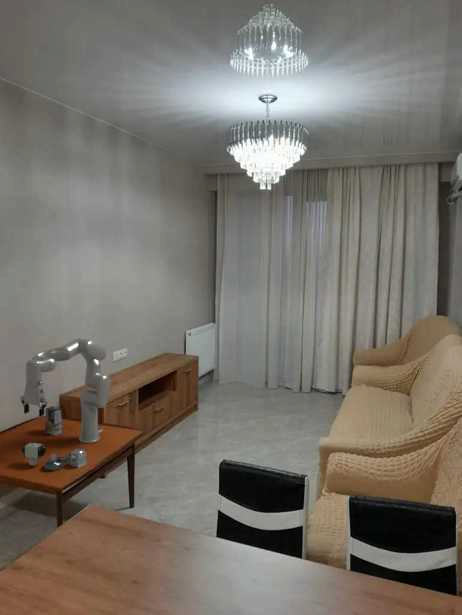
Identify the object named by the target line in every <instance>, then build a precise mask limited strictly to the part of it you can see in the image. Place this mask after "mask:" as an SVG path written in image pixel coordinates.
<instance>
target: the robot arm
mask: <svg viewBox="0 0 462 615" xmlns="http://www.w3.org/2000/svg"><path fill="white" fill-rule="evenodd" d="M107 354H108V353H107V350H106V348H105V347H104V346H102V345H100V344H99V343H98V342H95V341H93V340H91V339H86V338H81V337H80V338H76V339H73V340H71V341H69V342H68V343H65V344H63V345H62V346H59V347H54V348H51V349H46V350H43V351H41V352H39V353H37V354H36V355H34V356H33V357H32V358H31V359H29V360H27V361H26V363H25V364H26V365H25V370H26V371H25V372H26V374H25V375H26V376H25V378H26V379H25V381H26V382H25V384H26V385H25V387H24V392H23V395H21V396H20V398H19V399H20V401H21V404H22V407H23V413H24V415H25V414H28V413H29V412H30V405H33V406H38V408H39V409H38V416H39V417H43V416H45V409H46V408H47V406H48V404H49V400H48V399H46V398H45V397H46V396H45V389H44V385H43V384H44V382H43V381H42V380H43V378H42V374H43V373H49V372H53V371H54V370H55V369H56V368H57V365H58V364H57V362H66V361H69V360H71V359H72V358H74V357H76V356H77V355H81V356H82V357H83V358H84V360H85V362H86V371H85V378H84V379H85V380H84V384H85V386H86V387H87V388H90V389H85V390H83V391H82V392H81V393H80V395H79V396H80V397H79V401H80V405H81V435H80V436H79V437H78V441H79V443H83V444H93V443H97V442H98V441H100V439H101V436H100V434H101V433H103V431H104V430H103V429H98V426H99V424H98V423H99V421H98V420H99V419H98V416H99V410H98V409H104V408H105V407H106V406H107V404H108V401H109V396H110V395H109V394H110V389H111V379H110V377H109V376H108V375H107V374H103V373H101V372H102V371H101V370H102V363H101V361H103V360H105V358H106V357H107ZM94 389H95V390H94Z"/></svg>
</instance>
